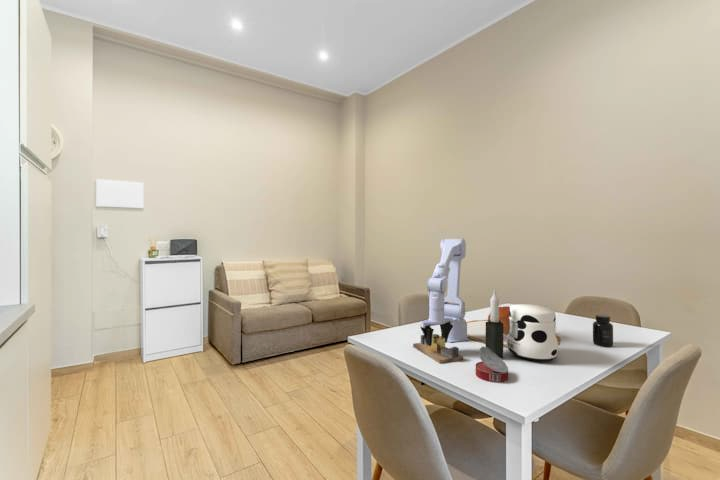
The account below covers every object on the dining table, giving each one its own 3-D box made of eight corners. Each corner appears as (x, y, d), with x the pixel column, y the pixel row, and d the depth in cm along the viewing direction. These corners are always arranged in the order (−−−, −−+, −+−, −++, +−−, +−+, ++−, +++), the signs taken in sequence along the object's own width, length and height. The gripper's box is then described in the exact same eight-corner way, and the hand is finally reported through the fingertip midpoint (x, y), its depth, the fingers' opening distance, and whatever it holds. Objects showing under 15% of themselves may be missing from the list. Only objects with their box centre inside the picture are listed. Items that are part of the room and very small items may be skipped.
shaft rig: (434, 343, 138) (434, 333, 138) (463, 359, 120) (463, 347, 120) (413, 346, 135) (413, 335, 135) (439, 363, 117) (439, 351, 117)
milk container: (563, 355, 125) (564, 308, 124) (550, 368, 112) (550, 316, 112) (516, 344, 137) (516, 301, 136) (499, 355, 124) (499, 308, 124)
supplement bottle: (614, 344, 137) (614, 315, 137) (612, 348, 132) (612, 319, 132) (594, 341, 142) (594, 313, 141) (591, 344, 137) (591, 316, 136)
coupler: (445, 351, 126) (445, 336, 126) (437, 352, 124) (437, 337, 124) (434, 346, 131) (434, 332, 131) (426, 347, 130) (426, 333, 130)
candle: (495, 360, 120) (495, 291, 120) (484, 355, 124) (484, 289, 124) (504, 357, 122) (505, 290, 122) (493, 353, 127) (493, 288, 126)
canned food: (493, 384, 111) (506, 357, 112) (508, 395, 101) (521, 365, 102) (464, 368, 111) (476, 341, 112) (475, 378, 101) (489, 348, 102)
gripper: (444, 304, 134) (444, 338, 134) (415, 308, 127) (415, 343, 128) (456, 308, 128) (456, 343, 128) (426, 312, 121) (426, 348, 121)
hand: (436, 343), depth 127 cm, fingers open, 7 cm apart
